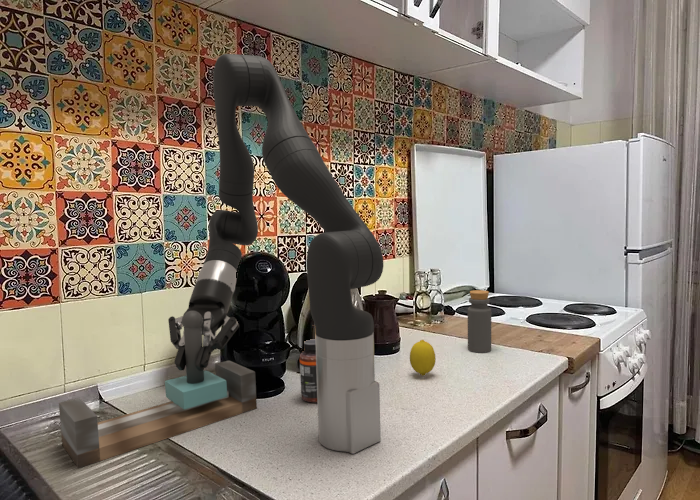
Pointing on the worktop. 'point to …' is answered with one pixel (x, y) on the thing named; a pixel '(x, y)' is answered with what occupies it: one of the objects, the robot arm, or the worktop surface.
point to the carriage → (194, 371)
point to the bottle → (479, 322)
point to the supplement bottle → (308, 371)
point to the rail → (150, 419)
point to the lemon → (422, 357)
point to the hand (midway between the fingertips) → (189, 368)
